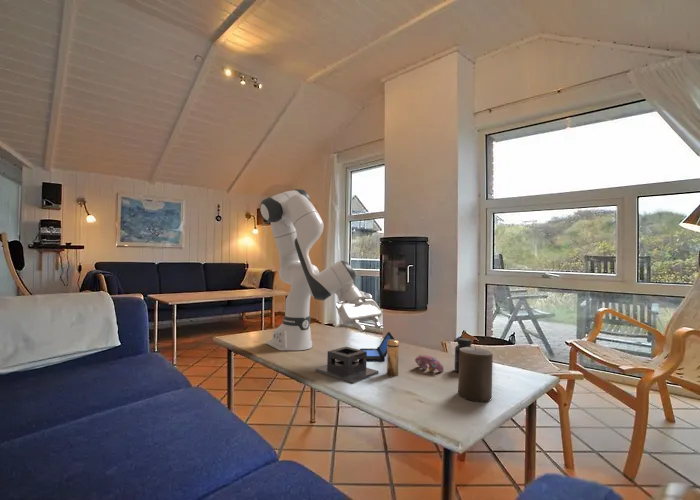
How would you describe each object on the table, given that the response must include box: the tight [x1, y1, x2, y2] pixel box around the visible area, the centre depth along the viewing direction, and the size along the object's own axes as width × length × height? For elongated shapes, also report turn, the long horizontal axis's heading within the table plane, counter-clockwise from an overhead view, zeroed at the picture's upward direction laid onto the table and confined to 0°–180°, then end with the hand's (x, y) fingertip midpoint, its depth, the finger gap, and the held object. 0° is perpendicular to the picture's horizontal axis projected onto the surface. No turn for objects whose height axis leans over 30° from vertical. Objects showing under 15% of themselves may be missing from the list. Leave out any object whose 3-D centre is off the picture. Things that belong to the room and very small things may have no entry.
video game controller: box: [414, 354, 444, 373], centre depth 129 cm, size 10×5×7 cm, turn 48°
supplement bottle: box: [453, 337, 472, 374], centre depth 128 cm, size 7×7×12 cm
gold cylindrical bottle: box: [386, 338, 400, 377], centre depth 123 cm, size 4×4×12 cm
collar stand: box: [315, 346, 379, 385], centre depth 124 cm, size 18×14×8 cm
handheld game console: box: [358, 331, 396, 362], centre depth 146 cm, size 16×13×9 cm
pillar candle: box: [457, 346, 494, 403], centre depth 105 cm, size 10×10×15 cm
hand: (371, 329), depth 129 cm, fingers open, 8 cm apart
